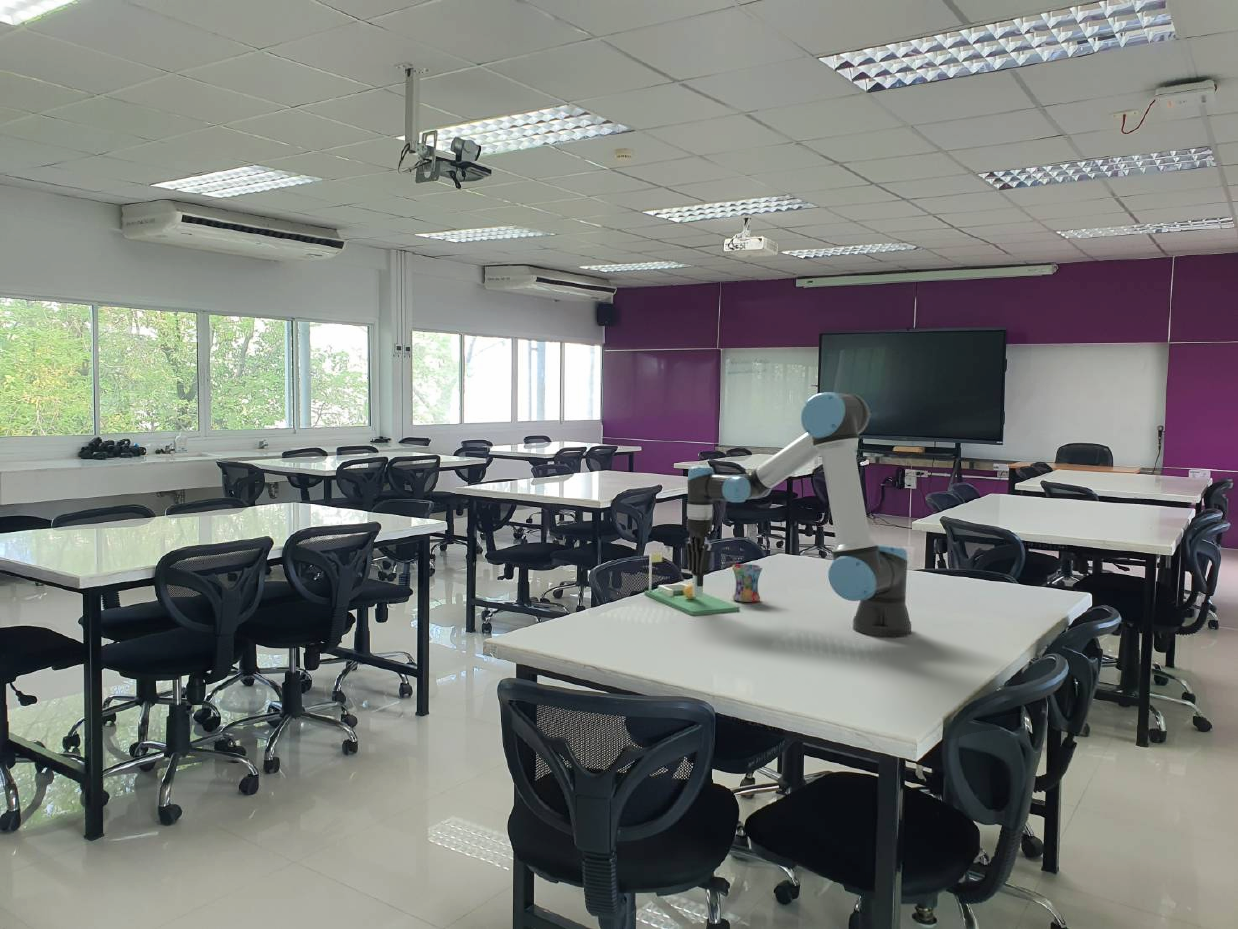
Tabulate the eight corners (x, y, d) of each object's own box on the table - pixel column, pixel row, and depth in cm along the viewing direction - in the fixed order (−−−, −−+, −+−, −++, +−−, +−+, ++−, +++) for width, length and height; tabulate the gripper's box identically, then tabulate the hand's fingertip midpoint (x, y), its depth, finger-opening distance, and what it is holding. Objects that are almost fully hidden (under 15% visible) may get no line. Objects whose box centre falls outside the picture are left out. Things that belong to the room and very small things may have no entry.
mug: (754, 605, 261) (755, 570, 261) (726, 601, 266) (727, 567, 266) (769, 598, 272) (770, 564, 271) (742, 594, 276) (743, 561, 276)
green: (739, 611, 253) (740, 566, 253) (691, 615, 247) (693, 569, 246) (688, 591, 280) (689, 550, 280) (644, 594, 274) (645, 553, 273)
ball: (691, 590, 266) (697, 602, 263) (679, 591, 264) (684, 603, 261) (697, 581, 263) (703, 592, 261) (684, 581, 261) (690, 593, 259)
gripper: (721, 520, 253) (719, 599, 255) (699, 515, 265) (697, 591, 267) (699, 521, 250) (697, 601, 252) (677, 515, 262) (675, 592, 264)
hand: (697, 596), depth 259 cm, fingers closed
